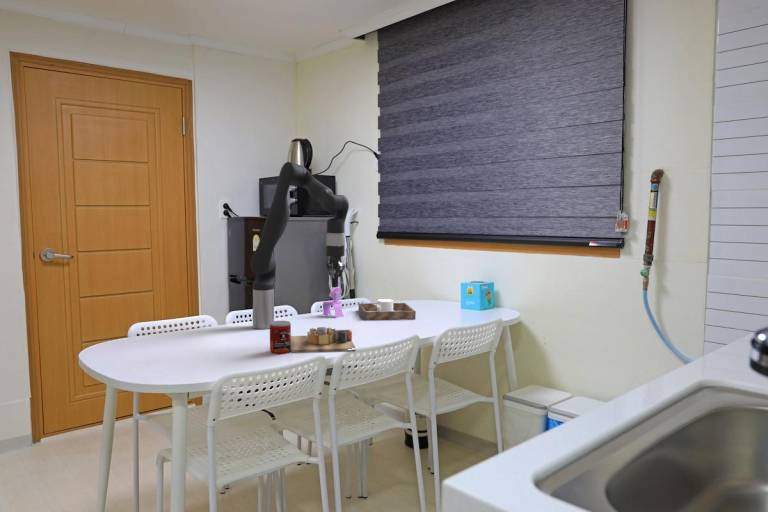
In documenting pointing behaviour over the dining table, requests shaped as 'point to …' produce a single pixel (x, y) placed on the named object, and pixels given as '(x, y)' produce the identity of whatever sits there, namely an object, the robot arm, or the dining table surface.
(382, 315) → the walnut frame
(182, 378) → the dining table surface
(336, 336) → the gold ring with lever
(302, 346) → the jig board
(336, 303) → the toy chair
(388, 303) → the tree stump
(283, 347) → the canned food
